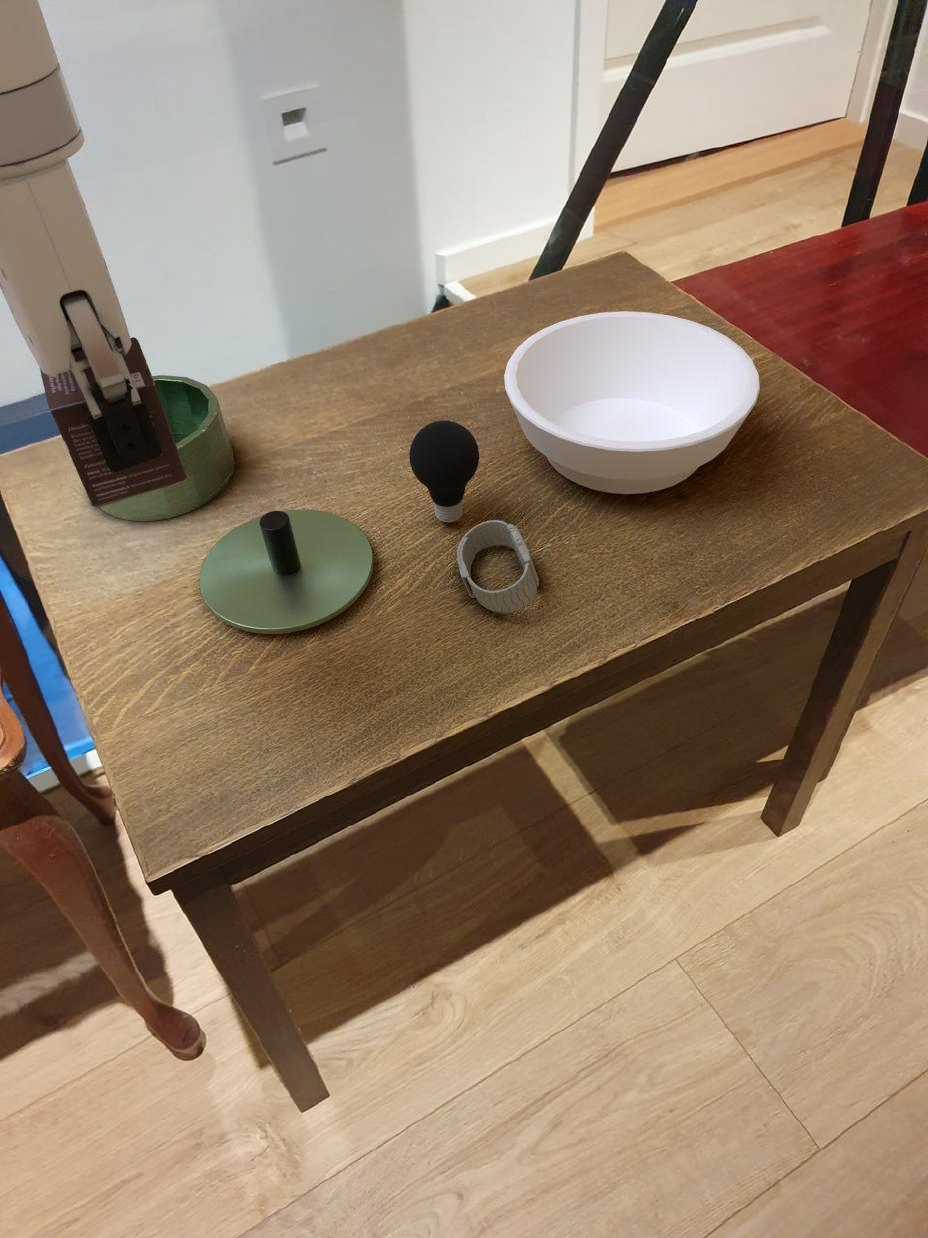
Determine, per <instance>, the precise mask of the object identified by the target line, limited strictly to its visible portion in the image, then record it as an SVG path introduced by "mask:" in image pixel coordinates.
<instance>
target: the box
mask: <svg viewBox="0 0 928 1238" xmlns="http://www.w3.org/2000/svg"><path fill="white" fill-rule="evenodd" d="M130 339H131V343H132V344H131V347H130V350H129V351H128V353H127V354H126V355H124V354H123V353H122V356H123V359H124V361H125V363H126V366H127V368H128V370H129V373H130V375H131V377H132V380H133V382H134V384H135V387H136V389H137V392H138V394H140V395H141V396H142V398H143V400H144V403H145V406H146V409H147V411H148V414H149V417H150V420H151V422H152V425H153V428H154V431H155V433H156V436H157V439H158V441H159V444H160V447H161V450H162V453H161V455H160V456H159V457H157V458H154V459H151V460H148V461H146V462H143V463H140V464H138V465H135V466H132V467H129V468H127V469H124V470H121V471H118V472H112V471H111V470H110V469H109V467H108V466H107V464H106V461H105V459H104V457H103V454H102V452H101V449H100V447H99V445H98V442H97V440H96V438H95V435H94V433H93V431H92V428H91V426H90V424H89V421H88V419H87V417H86V414H85V412H88V411H89V409H88V406H87V404H86V402H85V400H84V397H83V395H82V393H81V391H80V389H79V386H78V384H77V382H76V380H75V378H74V375H73V373H72V371H71V370H70V369H69V371H66V372H62V373H59V374H58V375H59V377H56V378H54V377H51V376H49V375H47V374H45V373H43V372H42V370H41V369H40V368H39V371H40V377H41V381H42V385H43V390H44V395H45V397H46V402H47V405H48V409H49V412H50V413H51V416H52V418H53V419H54V422H55V424H56V426H57V429H58V431H59V434H60V436H61V438H62V441H63V442H64V445H65V447H66V450H67V452H68V454H69V457H70V459H71V461H72V463H73V465H74V468H75V470H76V473H77V475H78V477H79V479H80V481H81V483H82V486H83V488H84V490H85V492H86V495H87V497H88V499H89V501H90V505H91V506H92V507H94V508H97V509H99V508H100V507H102V506H106V505H109V504H113V503H116V502H119V501H121V500H124V499H128V498H131V497H134V496H137V495H141V494H144V493H147V492H151V491H154V490H159V489H162V488H165V487H169V486H174V485H178V484H180V483H183V482H184V481H186V480H187V476H186V473H185V471H184V468H183V465H182V462H181V459H180V456H179V453H178V450H177V447H176V444H175V441H174V438H173V435H172V433H171V430H170V427H169V424H168V421H167V418H166V415H165V412H164V410H163V407H162V404H161V401H160V398H159V395H158V392H157V389H156V385H155V383H154V380H153V377H152V376H153V375H152V372H151V370H150V368H149V365H148V362H147V359H146V357H145V354H144V352H143V349H142V346H141V344H140V342H139V340H138V339H137V337H134V336H133V337H130ZM72 354H73V356H74V358H75V360H78V359H81V358H84V357H86V356H85V354H84V351H83V350H82V351H78V352H74V353H72ZM84 373H85V375H86V378H87V380H88V382H89V384H90V387H91V389H92V390H93V388H92V387H93V386H92V384H94V383H97V381H96V379H95V376H94V373H93V371H92V369H89V370H86V371H84ZM100 509H101V508H100Z"/></svg>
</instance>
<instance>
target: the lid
mask: <svg viewBox="0 0 928 1238" xmlns="http://www.w3.org/2000/svg"><path fill="white" fill-rule="evenodd" d="M373 570H374V553H373V549H372V545H371V543H370V541H369V539H368V537H367V536H366V534H365V532H364V531H362V530H361V529H360V528H359V527H358V526H357V525H356V524H355V523H353V522H352V521H350V520H349V519H346V518H345V517H342V516H340V515H338V514H335V513H333V512H327V511H323V510H316V509H307V508H305V509H302V508H301V509H286V510H271V511H268V512H266V513H265V514H263V515H260V516H258V517H255V518H251V519H250V520H248V521H246V522H243V523H241V524H240V525H238V526H237V527H234V528H233V529H232V530H230V531H229V532H228V533H226V534H225V535H224V536H223V537H221V538H220V539H219V540H218V541H217V542H216V543H215V544H214V545H213V547H211V549H210V550H209V551H208V553H207V555H206V556H205V559H204V560H203V561H202V565H201V568H200V572H199V579H198V581H199V582H198V583H199V590H200V593H201V596H202V599H203V601H204V603H205V605H206V607H207V608H208V609H209V611H210V612H211V613H212V614H213V615H214V616H215V617H216V618H217V619H219V620H220V621H222V622H223V623H225V624H226V625H229V626H230V627H232V628H235V629H238V630H241V631H245V632H250V633H253V634H254V633H255V634H264V635H280V634H288V633H295V632H299V631H304V630H307V629H310V628H313V627H316V626H320V625H322V624H324V623H326V622H328V621H329V620H331V619H334V618H336V617H337V616H339V615H340V614H342V613H343V612H345V611H346V610H347V609H348V608H349V607H351V606H352V605H353V604H354V603H356V601H357V600H358V599H360V597H361V596H362V594H363V593H364V591H365V590H366V588H367V586H368V585H369V583H370V580H371V579H372V575H373V572H374V571H373Z"/></svg>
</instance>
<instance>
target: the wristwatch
mask: <svg viewBox="0 0 928 1238" xmlns="http://www.w3.org/2000/svg"><path fill="white" fill-rule="evenodd" d="M492 546H506V547H510V548H511V549H513V550H514V551H515V553H516V555H517V558H518V560H519V563H520V565H521V568H522V569H523V573H522V574H521V576H520V577H519V578H518V580H517V581H516V582H515V583H513V584H511V585H510V586H508V587H506V588H503V589H498V590H497V589H496V590H488V589H484V588H483V587H481V586H479V585H478V584H476V583H475V582H474V581H473V580H472V575H471V568H472V565H473V563H474V562H473V561H474V560H475V558H476V555H477V554H478V553H479V552H481V551H482V550H484V549H486V548H488V547H492ZM456 559H457V565H458V568H459V569H458V570H459V574H460V577H461V580H462V582H463V584H464V587H465V589H466V591H467V594H468V595H469V597H470V598H472V599H474V598H475V599H476V600H477V602H478V603H479V604H480V605H481V606H482V607H483V608H485V609H487V610H489V611H492V612H495V613H511V612H515V611H517V610H521V609H523V608H524V607H525V606H527V605H528V604H530V603H531V602H532V601H533V600H534V598H535V597H536V594H537V591H538V587H539V586H540V579H539V576H538V573H537V570H536V568H535V565H534V561H533V559H532V557H531V553H530V551H529V549H528V546H527V544H526V542H525V540H524V539H523V537H522V534H521V533H520V531H519V529H518V527H517V526H515V525H514V524H512V523H509V524H508V523H507V522H505V521H504V520H498V519H493V520H492V519H491V520H486V521H482V522H480V523H479V524H476V525H474V526H473V527H472V528H470V529H469V530H468V531H467V532H466V533H465V534H464V536H462V538H461V540H460V541H459V543H458V546H457V551H456Z"/></svg>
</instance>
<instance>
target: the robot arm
mask: <svg viewBox="0 0 928 1238" xmlns="http://www.w3.org/2000/svg"><path fill="white" fill-rule="evenodd" d="M76 112H77V111H76V109H75V106H74V103H73V100H72V97H71V94H70V91H69V89H68V85H67V82H66V79H65V77H64V74H63V70H62V68H61V64H60V62H59V58H58V55H57V53H56V50H55V47H54V44H53V41H52V38H51V35H50V31H49V29H48V26H47V23H46V20H45V17H44V14H43V11H42V8H41V5H40V3H39V0H0V291H1V293H2V295H3V297H4V300H5V301H6V304H7V306H8V308H9V311H10V313H11V315H12V317H13V320H14V322H15V324H16V326H17V328H18V330H19V332H20V334H21V336H22V338H23V340H24V341H25V344H26V345H27V347H28V349H29V351H30V353H31V354H32V356H33V358H34V360H35V362H36V363H37V365H38V367H39V370H40V369H41V370H42V372H43V373H45V374H47V375H49V376H51V377H54V378H56V377H59V375H58V374H59V373H62V372H66V371H69V369H70V370H71V371H72V373H73V375H74V378H75V380H76V382H77V384H78V386H79V389H80V391H81V393H82V395H83V397H84V400H85V402H86V404H87V406H88V409H89V411H88V412H85V414H86V417H87V419H88V421H89V424H90V426H91V428H92V431H93V433H94V435H95V438H96V440H97V442H98V445H99V447H100V449H101V452H102V454H103V457H104V459H105V461H106V464H107V466H108V467H109V469H110V470H111V471H112V472H118V471H121V470H124V469H127V468H129V467H132V466H135V465H138V464H140V463H143V462H146V461H148V460H151V459H154V458H157V457H159V456H160V455H161V453H162V450H161V447H160V444H159V441H158V439H157V436H156V433H155V431H154V428H153V425H152V422H151V420H150V417H149V414H148V411H147V409H146V406H145V403H144V400H143V398H142V396H141V395H140V394H138V392H137V389H136V387H135V384H134V382H133V380H132V377H131V375H130V373H129V370H128V368H127V366H126V363H125V361H124V359H123V356H122V353H123V354H124V355H126V354H127V353H128V351H129V350H130V347H131V344H132V343H131V339H130V338H131V336H130V332H129V328H128V325H127V322H126V318H125V316H124V312H123V309H122V306H121V302H120V300H119V297H118V294H117V291H116V288H115V285H114V283H113V279H112V277H111V274H110V271H109V268H108V265H107V263H106V259H105V257H104V254H103V251H102V248H101V245H100V243H99V240H98V237H97V234H96V232H95V229H94V227H93V226H94V225H93V224H92V221H91V218H90V215H89V213H88V210H87V207H86V203H85V201H84V199H83V196H82V194H81V191H80V189H79V186H78V183H77V181H76V178H75V175H74V173H73V172H74V171H73V170H72V167H71V164H70V162H69V158H72V157H73V156H74V155H75V154H76V153H79V151H80V150H81V149H82V147H84V144H85V135H84V133H83V130H82V126H81V124H80V120H79V118H78V115H77V113H76ZM82 350H83V351H84V354H85V356H86V357H84V358H81V359H78V360H75V358H74V356H73V354H72V353H74V352H78V351H82ZM89 369H92V371H93V373H94V376H95V379H96V381H97V383H94V384H92V386H93V387H92V388H93V390H92V389H91V387H90V384H89V382H88V380H87V378H86V375H85V373H84V371H86V370H89Z"/></svg>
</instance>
